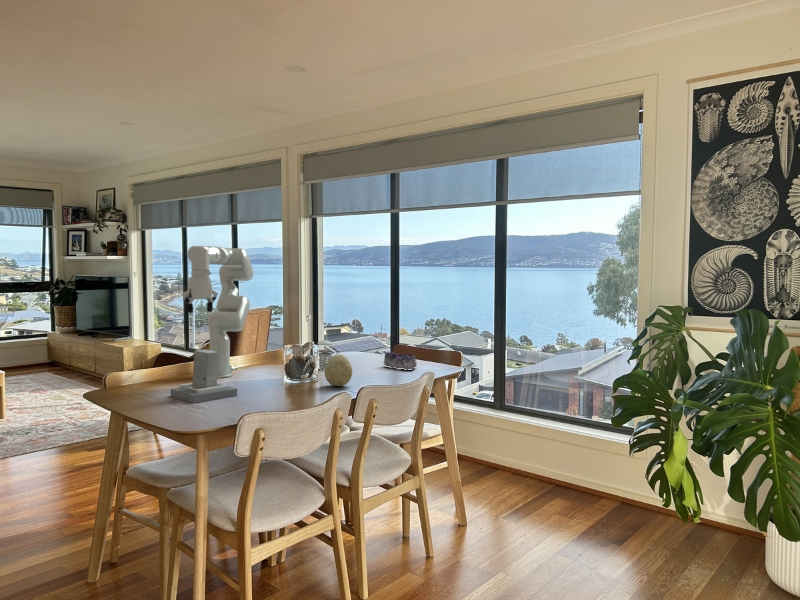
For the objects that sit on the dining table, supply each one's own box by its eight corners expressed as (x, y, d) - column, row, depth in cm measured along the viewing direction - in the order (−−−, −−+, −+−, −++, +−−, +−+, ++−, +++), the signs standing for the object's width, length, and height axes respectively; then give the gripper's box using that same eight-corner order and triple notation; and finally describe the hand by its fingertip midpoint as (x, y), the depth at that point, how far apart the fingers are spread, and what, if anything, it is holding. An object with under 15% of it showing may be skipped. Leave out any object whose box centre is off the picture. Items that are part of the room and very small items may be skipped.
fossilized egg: (324, 383, 291) (325, 352, 290) (352, 384, 292) (352, 352, 291) (323, 389, 278) (324, 356, 277) (351, 389, 279) (352, 356, 278)
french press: (318, 366, 337) (318, 321, 336) (338, 367, 335) (339, 321, 334) (313, 369, 327) (313, 322, 326) (334, 370, 326) (335, 323, 324)
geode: (377, 368, 338) (378, 350, 338) (388, 368, 348) (389, 350, 348) (410, 371, 328) (411, 352, 328) (420, 371, 338) (421, 352, 338)
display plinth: (213, 389, 272) (213, 379, 271) (237, 395, 260) (237, 385, 260) (170, 395, 256) (170, 385, 256) (194, 403, 245) (194, 391, 244)
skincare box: (191, 388, 258) (191, 350, 257) (204, 385, 264) (205, 348, 263) (206, 390, 253) (206, 352, 252) (219, 387, 259) (219, 350, 259)
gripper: (212, 273, 285) (212, 310, 286) (177, 273, 272) (177, 312, 273) (221, 274, 280) (221, 311, 281) (187, 274, 267) (186, 313, 268)
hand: (200, 312), depth 277 cm, fingers open, 9 cm apart
